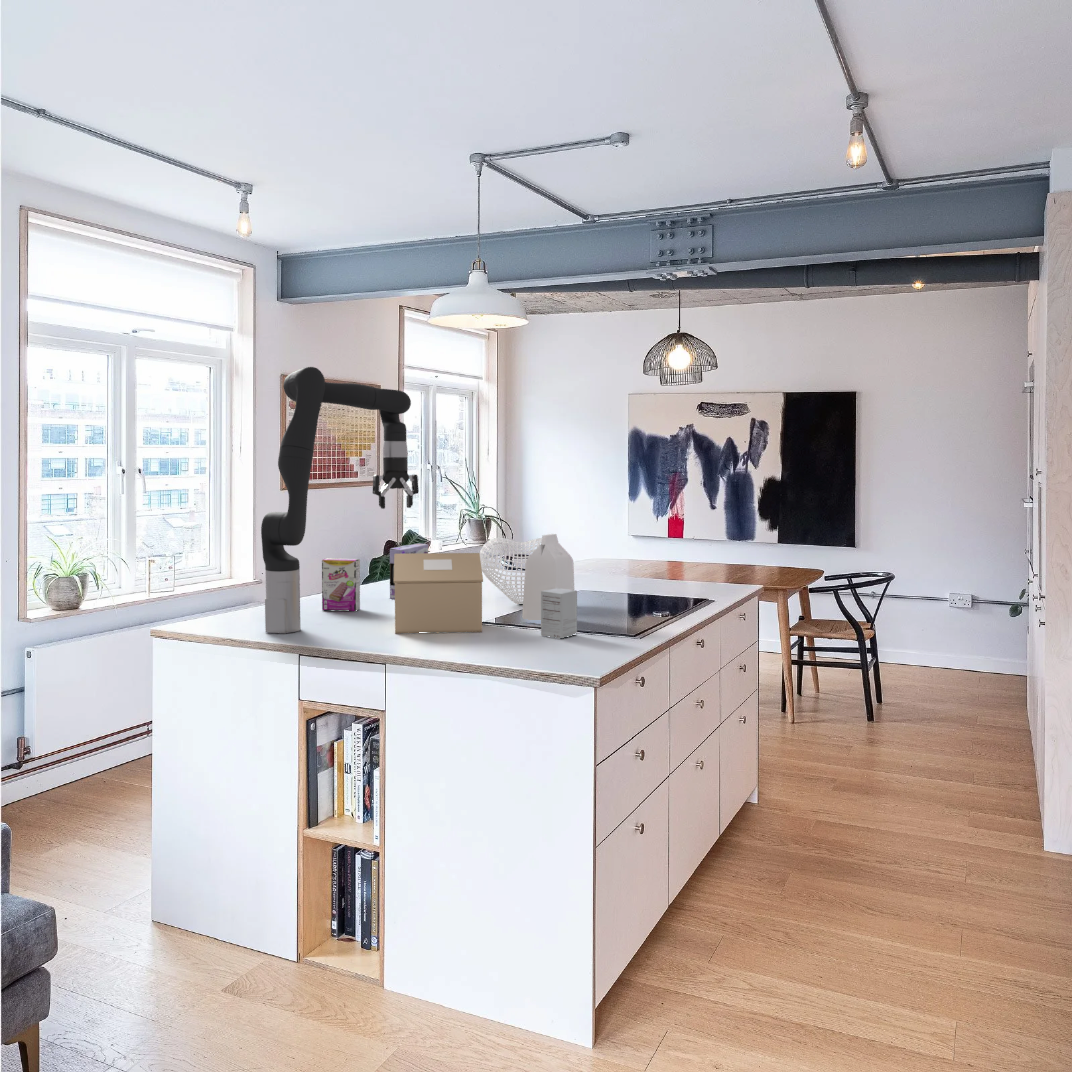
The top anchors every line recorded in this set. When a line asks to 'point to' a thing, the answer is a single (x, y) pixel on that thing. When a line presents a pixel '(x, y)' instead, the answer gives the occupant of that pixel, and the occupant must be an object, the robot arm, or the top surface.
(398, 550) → the cake pan box
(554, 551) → the milk
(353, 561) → the candy bar box
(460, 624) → the carton
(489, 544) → the white mesh basket
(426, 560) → the carton lid
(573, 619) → the supplement box
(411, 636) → the top surface
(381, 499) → the robot arm
